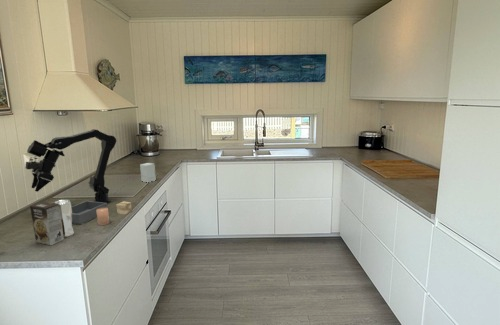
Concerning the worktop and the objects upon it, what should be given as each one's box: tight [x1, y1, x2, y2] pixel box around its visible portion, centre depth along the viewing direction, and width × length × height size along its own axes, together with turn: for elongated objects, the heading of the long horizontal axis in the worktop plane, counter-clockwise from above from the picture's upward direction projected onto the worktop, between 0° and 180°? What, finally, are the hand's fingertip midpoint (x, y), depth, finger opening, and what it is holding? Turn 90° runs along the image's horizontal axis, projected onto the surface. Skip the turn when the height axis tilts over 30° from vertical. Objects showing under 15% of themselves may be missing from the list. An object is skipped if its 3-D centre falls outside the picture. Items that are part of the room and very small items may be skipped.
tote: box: [71, 200, 109, 226], centre depth 159 cm, size 18×14×5 cm
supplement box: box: [139, 162, 157, 184], centre depth 225 cm, size 7×7×13 cm
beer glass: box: [52, 199, 75, 238], centre depth 137 cm, size 7×7×15 cm
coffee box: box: [29, 201, 65, 246], centre depth 131 cm, size 9×6×16 cm
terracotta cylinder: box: [96, 207, 110, 226], centre depth 150 cm, size 5×5×7 cm
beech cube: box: [115, 201, 133, 215], centre depth 164 cm, size 5×5×5 cm
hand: (34, 189), depth 156 cm, fingers open, 9 cm apart
